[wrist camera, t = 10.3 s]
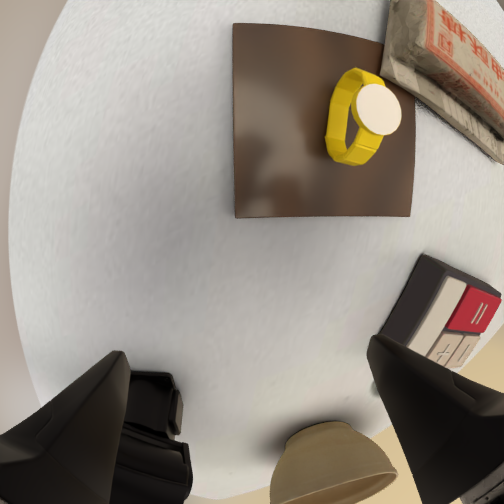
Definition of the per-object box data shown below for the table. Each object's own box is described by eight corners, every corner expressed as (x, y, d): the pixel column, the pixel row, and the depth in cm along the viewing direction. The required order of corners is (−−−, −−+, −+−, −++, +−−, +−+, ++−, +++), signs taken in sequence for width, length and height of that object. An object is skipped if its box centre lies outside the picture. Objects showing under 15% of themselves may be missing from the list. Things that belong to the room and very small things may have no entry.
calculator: (461, 371, 25) (388, 377, 21) (444, 351, 29) (369, 349, 25) (506, 297, 21) (451, 272, 18) (484, 281, 25) (421, 252, 22)
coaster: (235, 216, 19) (235, 218, 19) (232, 27, 14) (232, 22, 14) (404, 214, 21) (410, 217, 20) (405, 54, 15) (411, 52, 15)
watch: (347, 165, 18) (393, 175, 12) (310, 157, 18) (346, 162, 12) (359, 87, 16) (406, 71, 10) (323, 75, 16) (362, 51, 10)
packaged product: (415, 65, 11) (419, -29, 8) (374, 78, 15) (386, -9, 12) (529, 173, 15) (534, 90, 12) (496, 165, 19) (503, 89, 16)
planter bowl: (288, 402, 27) (309, 485, 17) (391, 403, 30) (422, 461, 20) (245, 460, 32) (251, 521, 22) (335, 459, 36) (351, 508, 25)
